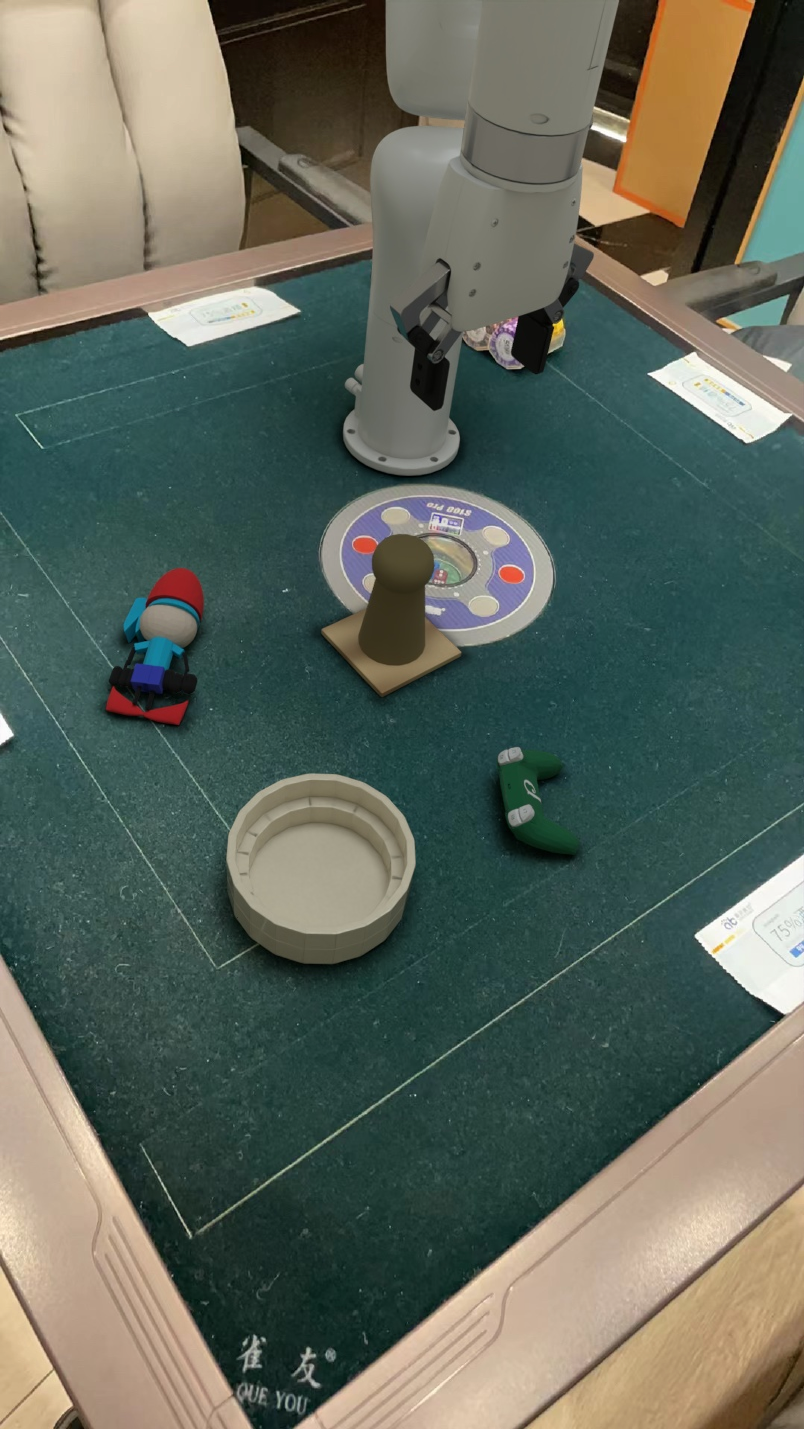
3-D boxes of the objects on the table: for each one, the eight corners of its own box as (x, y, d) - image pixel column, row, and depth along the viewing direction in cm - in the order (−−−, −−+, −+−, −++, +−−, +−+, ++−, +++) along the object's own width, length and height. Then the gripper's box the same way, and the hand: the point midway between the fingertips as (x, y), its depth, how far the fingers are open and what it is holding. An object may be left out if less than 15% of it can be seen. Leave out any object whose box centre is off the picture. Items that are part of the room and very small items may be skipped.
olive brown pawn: (428, 621, 96) (445, 528, 87) (422, 670, 92) (439, 577, 83) (362, 612, 95) (373, 517, 87) (353, 660, 92) (364, 566, 83)
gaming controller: (526, 776, 88) (484, 746, 85) (564, 757, 87) (523, 725, 83) (544, 871, 83) (501, 843, 79) (585, 852, 81) (543, 823, 77)
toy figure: (191, 736, 87) (228, 592, 94) (181, 706, 83) (221, 558, 90) (102, 726, 87) (146, 584, 95) (87, 695, 83) (135, 549, 91)
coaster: (320, 633, 94) (321, 629, 94) (399, 596, 98) (400, 592, 98) (381, 698, 90) (382, 693, 89) (460, 656, 94) (461, 652, 94)
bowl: (194, 865, 78) (191, 827, 74) (338, 784, 84) (342, 746, 80) (295, 1002, 72) (297, 969, 68) (443, 905, 78) (453, 870, 74)
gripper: (584, 95, 70) (531, 328, 83) (374, 138, 62) (353, 386, 76) (663, 143, 67) (595, 377, 80) (451, 194, 59) (414, 444, 72)
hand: (477, 381), depth 78 cm, fingers open, 9 cm apart
